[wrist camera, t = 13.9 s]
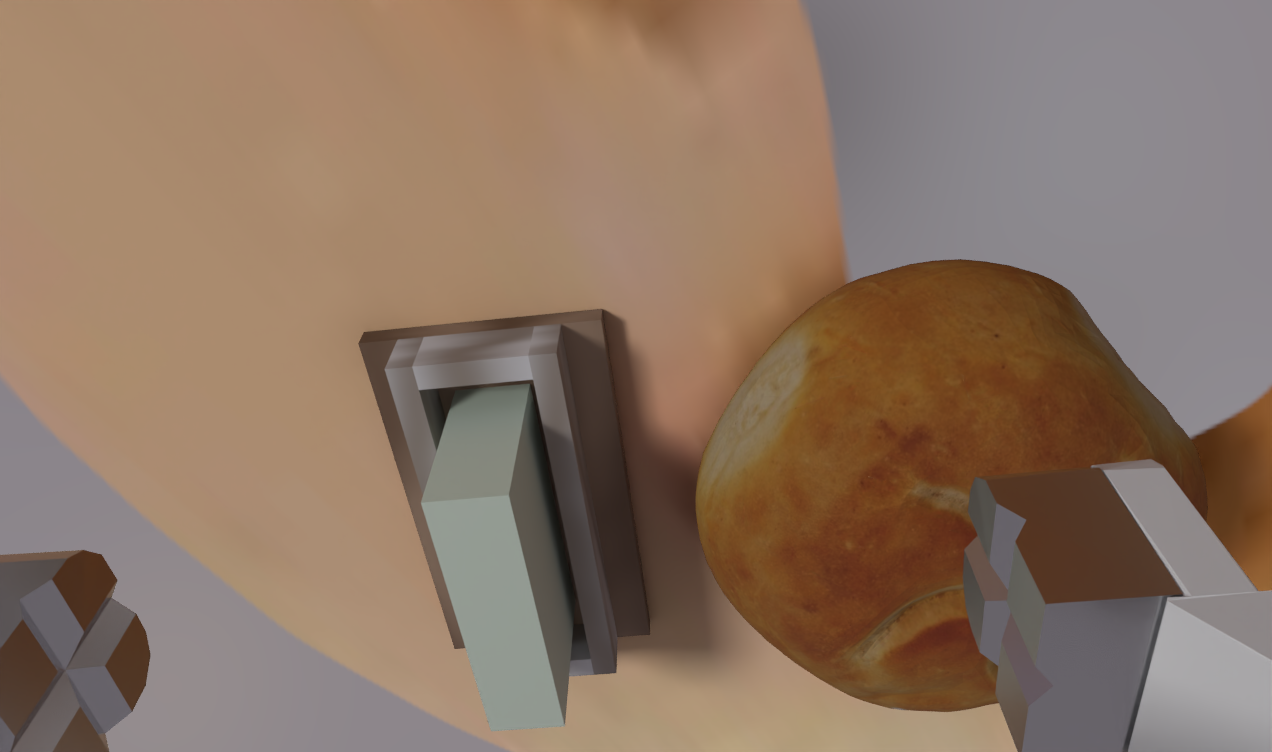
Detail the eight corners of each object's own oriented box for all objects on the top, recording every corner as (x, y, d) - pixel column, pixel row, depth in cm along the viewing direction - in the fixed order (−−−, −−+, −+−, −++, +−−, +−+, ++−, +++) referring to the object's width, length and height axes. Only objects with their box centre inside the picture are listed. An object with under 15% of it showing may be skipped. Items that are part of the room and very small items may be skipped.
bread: (1258, 274, 42) (1412, 401, 33) (1053, 639, 54) (1127, 799, 46) (749, 197, 40) (776, 312, 32) (658, 592, 53) (660, 749, 44)
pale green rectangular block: (529, 383, 44) (508, 495, 37) (575, 600, 51) (564, 726, 45) (455, 390, 44) (420, 502, 37) (511, 605, 52) (491, 731, 45)
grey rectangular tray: (601, 309, 43) (598, 349, 40) (649, 620, 53) (649, 670, 51) (364, 332, 44) (343, 373, 41) (457, 635, 54) (447, 685, 51)
